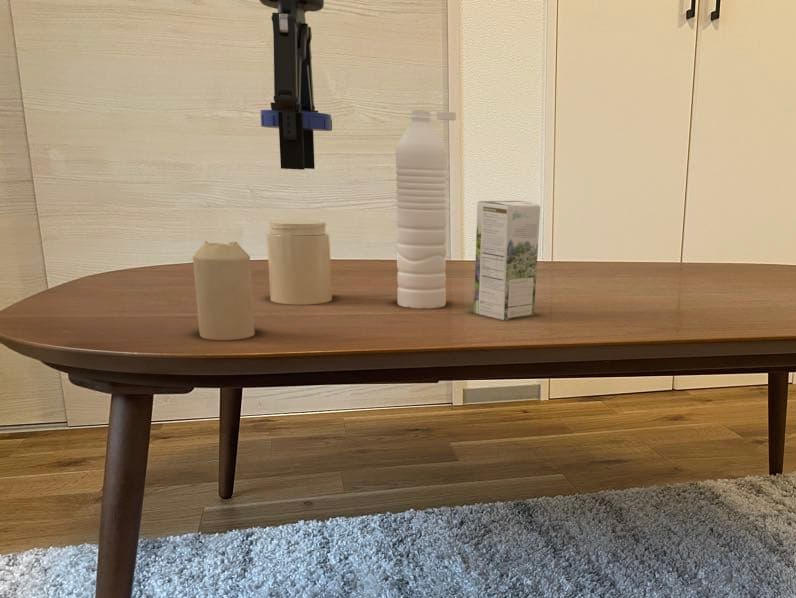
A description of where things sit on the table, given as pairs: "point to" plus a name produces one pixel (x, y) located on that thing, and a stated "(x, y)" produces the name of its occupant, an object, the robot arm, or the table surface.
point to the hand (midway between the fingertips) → (298, 168)
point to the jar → (299, 262)
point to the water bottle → (421, 213)
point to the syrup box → (506, 259)
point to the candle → (223, 291)
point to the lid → (310, 120)
